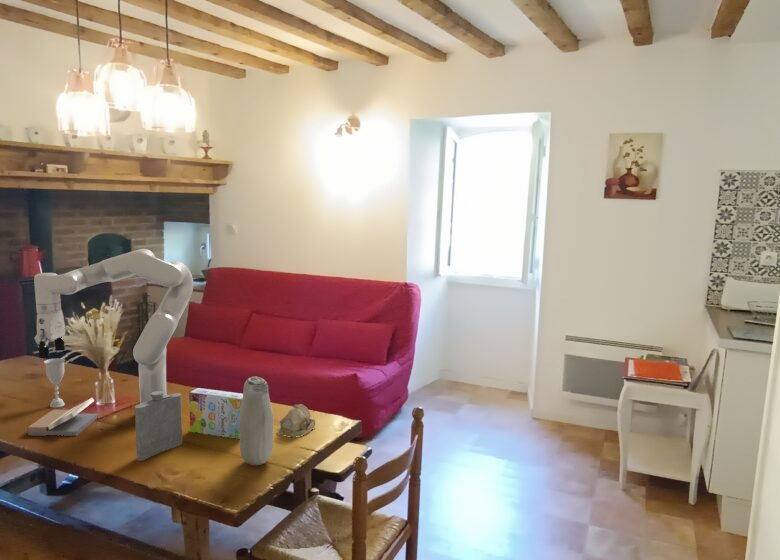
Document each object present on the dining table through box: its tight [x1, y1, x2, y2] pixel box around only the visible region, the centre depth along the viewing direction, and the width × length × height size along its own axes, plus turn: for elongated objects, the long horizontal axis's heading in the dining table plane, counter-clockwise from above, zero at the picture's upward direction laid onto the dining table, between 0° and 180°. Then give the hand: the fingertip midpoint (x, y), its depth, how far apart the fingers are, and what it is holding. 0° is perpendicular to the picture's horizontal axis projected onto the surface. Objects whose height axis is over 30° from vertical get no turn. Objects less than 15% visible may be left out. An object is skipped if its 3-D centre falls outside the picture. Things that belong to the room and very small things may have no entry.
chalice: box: [43, 357, 66, 409], centre depth 216 cm, size 7×7×18 cm
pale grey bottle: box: [239, 376, 274, 466], centre depth 174 cm, size 10×10×28 cm
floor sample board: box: [27, 409, 99, 437], centre depth 198 cm, size 16×16×3 cm
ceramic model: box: [276, 403, 317, 438], centre depth 201 cm, size 14×11×10 cm
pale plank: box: [47, 397, 95, 430], centre depth 198 cm, size 10×15×2 cm, turn 2°
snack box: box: [189, 387, 243, 440], centre depth 196 cm, size 21×6×15 cm, turn 74°
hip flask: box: [134, 391, 183, 462], centre depth 181 cm, size 16×4×20 cm, turn 146°
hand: (52, 353), depth 200 cm, fingers open, 9 cm apart
